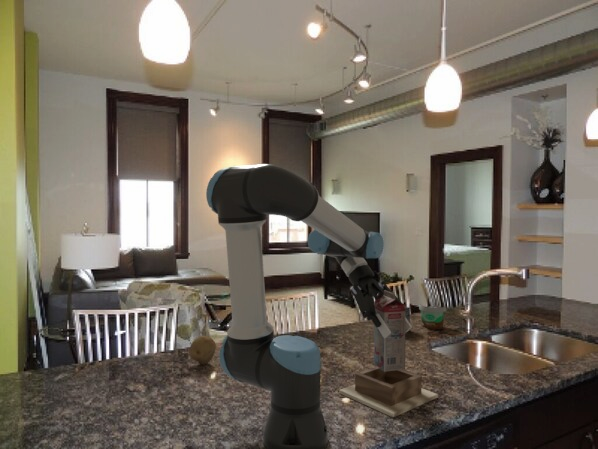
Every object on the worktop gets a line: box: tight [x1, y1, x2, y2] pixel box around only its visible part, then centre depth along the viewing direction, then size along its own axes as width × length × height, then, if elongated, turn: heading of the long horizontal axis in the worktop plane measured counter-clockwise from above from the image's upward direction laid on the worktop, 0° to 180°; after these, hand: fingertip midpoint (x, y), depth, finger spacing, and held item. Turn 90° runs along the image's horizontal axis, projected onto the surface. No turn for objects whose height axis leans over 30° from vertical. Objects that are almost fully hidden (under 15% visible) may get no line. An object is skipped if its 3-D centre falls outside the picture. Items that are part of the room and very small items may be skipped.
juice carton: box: [373, 290, 407, 372], centre depth 130 cm, size 7×7×22 cm
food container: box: [418, 304, 447, 330], centre depth 205 cm, size 12×6×10 cm, turn 73°
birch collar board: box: [338, 366, 439, 418], centre depth 130 cm, size 20×20×6 cm
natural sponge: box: [188, 335, 217, 365], centre depth 156 cm, size 9×9×10 cm
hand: (398, 332), depth 128 cm, fingers closed on juice carton, 9 cm apart
